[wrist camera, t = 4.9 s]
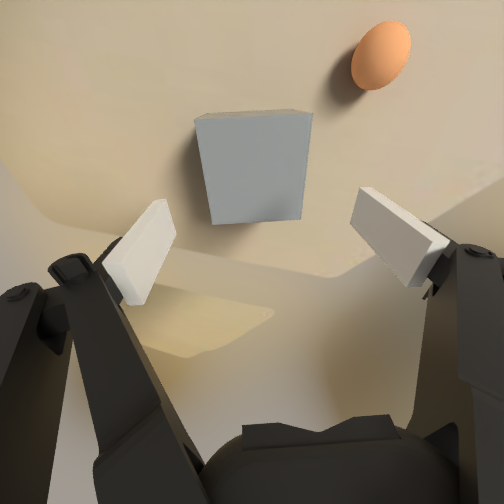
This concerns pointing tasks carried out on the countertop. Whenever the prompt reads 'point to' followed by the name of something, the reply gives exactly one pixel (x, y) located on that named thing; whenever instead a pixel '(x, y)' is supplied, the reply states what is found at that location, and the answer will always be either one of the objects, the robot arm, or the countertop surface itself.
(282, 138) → the gray tapered block
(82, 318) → the robot arm
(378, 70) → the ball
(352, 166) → the countertop surface
